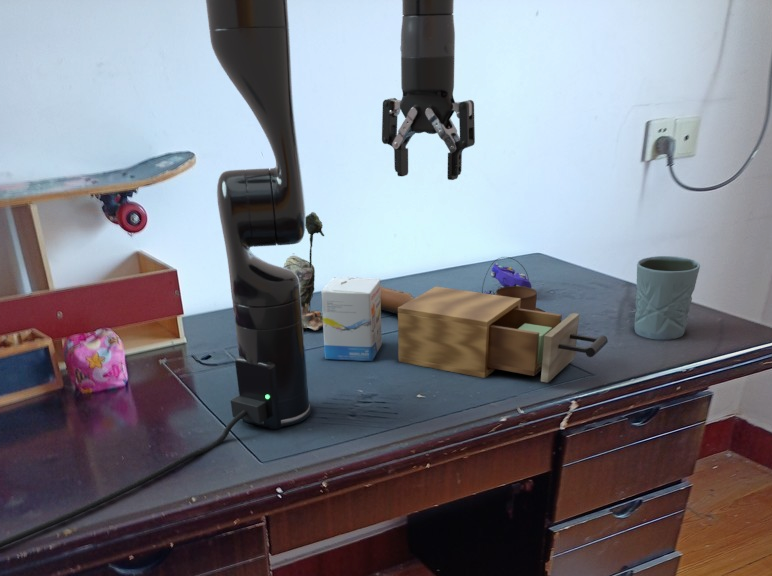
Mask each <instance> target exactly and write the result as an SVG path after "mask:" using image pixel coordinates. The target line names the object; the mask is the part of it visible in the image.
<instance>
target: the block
mask: <svg viewBox="0 0 772 576" xmlns="http://www.w3.org/2000/svg"><path fill="white" fill-rule="evenodd" d="M518 329H520V330H526V331H532V332H539V344H538V356H537V364H540V363H541V362H542V360H543V348H544V336H545V335H546V334H547V333H548V332H550V331H551V330H552V327H546V326H539V325H533V324H526V323H525V324H523V325H522V326H521V327H520V328H518Z"/></svg>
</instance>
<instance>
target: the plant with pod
mask: <svg viewBox="0 0 772 576" xmlns="http://www.w3.org/2000/svg"><path fill="white" fill-rule="evenodd" d="M322 229H323V222H322V221H321V219H320V217H319V216H318V215H317V213H316V212H314V211H312V212H310V213H309V214H307V215H306V226H305V230H306V232H307V234H309V243H310V245H309V261H308V260H305V259H304V258H301V257H299V256H297V255H295V253H293V255H290V256H289V257H287V258H286V259H285V262H284V264H283V266H282V267H283V268H286V269H288V270H291V271H292V272H294V273H295V274H296V275H297V276H298V279H299V283H300V296H301V307H302V321H303V329H307V328H309V329H311V330H313V331H318V330H320V329H321V328H322V327H323V315H322V311H319V310H311V309H310V307H311V301H312V298H313V296H314V292H315V281H316V279H315V277H316V274H315V273H316V271H315V267H314V265H313V264H312V263H313V261H312V258H313V257H312V255H313V254H312V252H313V251H312V248H313V241H314V235H315V234H320V235H321V237H325V234H324V233H323V230H322Z"/></svg>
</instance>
